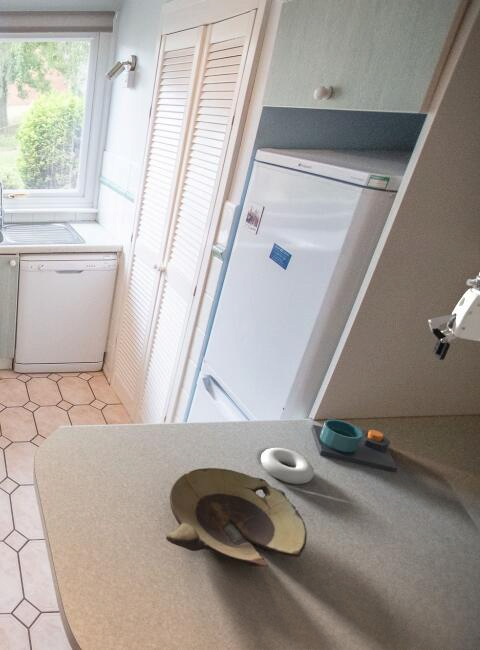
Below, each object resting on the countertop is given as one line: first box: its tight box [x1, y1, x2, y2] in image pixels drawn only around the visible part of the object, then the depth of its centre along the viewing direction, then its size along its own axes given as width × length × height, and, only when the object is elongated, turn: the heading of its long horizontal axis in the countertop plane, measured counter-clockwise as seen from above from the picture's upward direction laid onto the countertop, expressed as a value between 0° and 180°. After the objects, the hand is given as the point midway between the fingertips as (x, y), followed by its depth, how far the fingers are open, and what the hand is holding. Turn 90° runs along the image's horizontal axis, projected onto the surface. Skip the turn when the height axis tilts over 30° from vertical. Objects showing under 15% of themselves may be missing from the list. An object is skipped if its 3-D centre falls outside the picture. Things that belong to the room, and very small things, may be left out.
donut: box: [260, 447, 315, 485], centre depth 102 cm, size 10×4×10 cm
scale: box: [310, 424, 399, 474], centre depth 108 cm, size 14×11×3 cm
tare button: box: [367, 429, 384, 442], centre depth 108 cm, size 3×3×2 cm
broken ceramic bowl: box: [165, 467, 308, 568], centre depth 87 cm, size 22×30×8 cm
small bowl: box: [320, 419, 363, 452], centre depth 108 cm, size 7×7×4 cm
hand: (467, 361), depth 98 cm, fingers open, 9 cm apart
